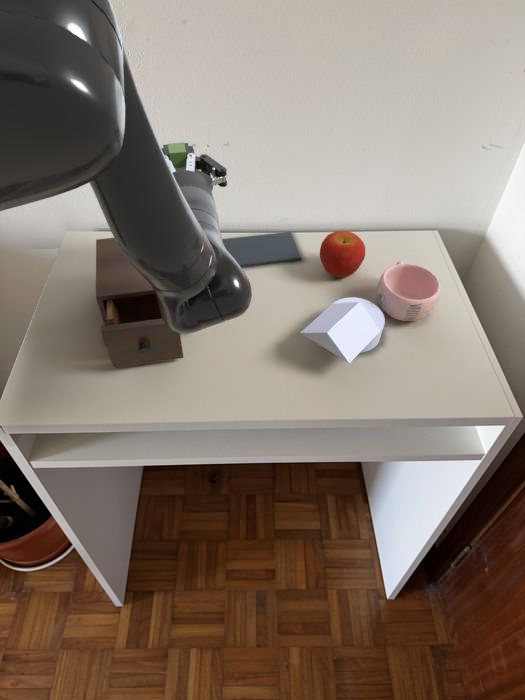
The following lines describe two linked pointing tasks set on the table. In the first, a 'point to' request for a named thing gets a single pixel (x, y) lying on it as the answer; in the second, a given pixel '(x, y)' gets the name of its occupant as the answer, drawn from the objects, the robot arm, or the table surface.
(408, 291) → the mug
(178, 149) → the long green square beam
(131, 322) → the drawer
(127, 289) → the cabinet
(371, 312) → the wedge on round base
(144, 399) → the table surface
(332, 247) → the apple
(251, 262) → the mat
